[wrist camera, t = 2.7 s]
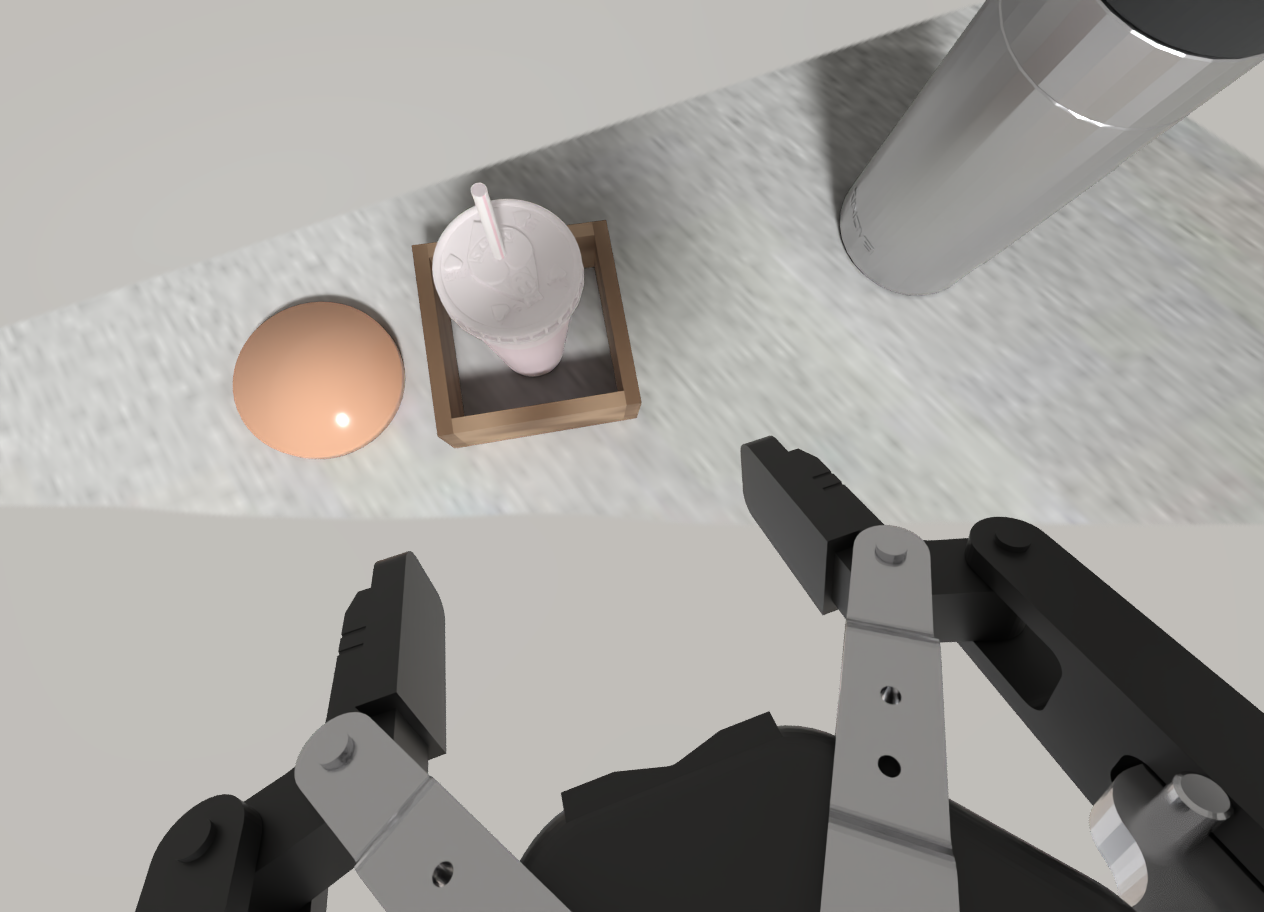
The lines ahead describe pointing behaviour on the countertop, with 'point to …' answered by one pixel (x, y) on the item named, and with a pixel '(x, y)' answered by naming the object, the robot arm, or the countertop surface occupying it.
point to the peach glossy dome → (318, 380)
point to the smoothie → (510, 279)
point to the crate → (535, 417)
